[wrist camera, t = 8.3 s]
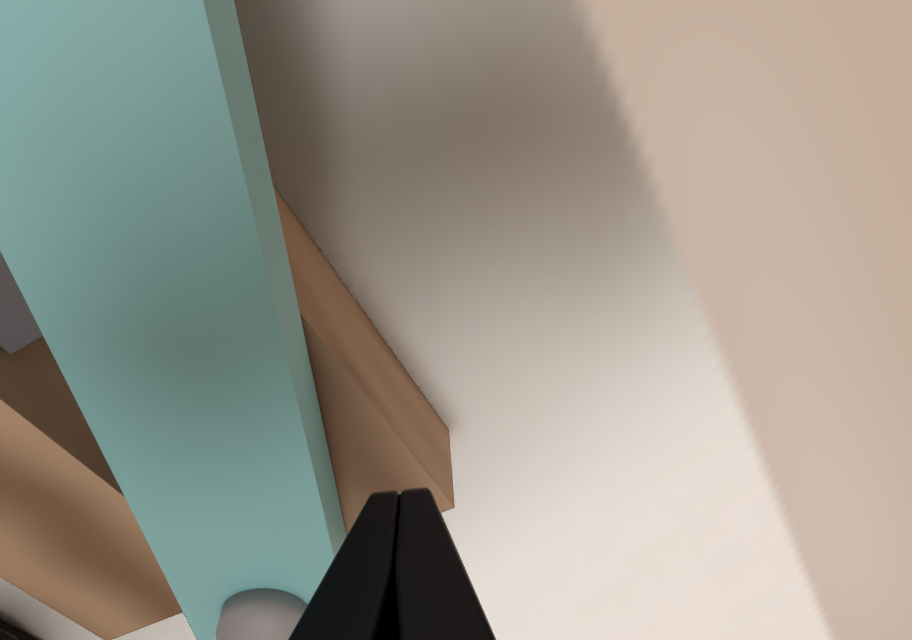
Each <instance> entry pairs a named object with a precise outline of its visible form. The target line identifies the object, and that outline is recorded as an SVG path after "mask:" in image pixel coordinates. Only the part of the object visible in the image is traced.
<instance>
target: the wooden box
mask: <svg viewBox="0 0 912 640" xmlns="http://www.w3.org/2000/svg"><path fill="white" fill-rule="evenodd" d="M273 188H274V193H275V197H276V202H277V207H278V212H279V216H280V221H281V226H282V231H283V235H284V240H285V245H286V250H287V255H288V259H289V264H290V269H291V274H292V278H293V283H294V288H295V293H296V298H297V302H298V307H299V312H300V317H301V321H302V326H303V331H304V336H305V340H306V345H307V350H308V355H309V360H310V364H311V369H312V374H313V379H314V383H315V388H316V393H317V398H318V403H319V407H320V412H321V417H322V422H323V426H324V431H325V436H326V441H327V445H328V450H329V455H330V460H331V465H332V469H333V474H334V479H335V484H336V488H337V493H338V498H339V503H340V507H341V512H342V517H343V522H344V527H345V531H346V536H347V535H348V533H349V531H350V529H351V527H352V526H353V524H354V522H355V520H356V519H357V517H358V515H359V513H360V512H361V510H362V508H363V506H364V504H365V503H366V501H367V499H368V498H369V496H370V495H371V494H372V493H374V492H380V491H390V490H398V491H400V493H402V491H403V490H405V489H410V488H421V487H428V488H429V489H430V490H431V492H432V494H433V496H434V498H435V500H436V503H437V505H438V507H439V510H440V512H441V513H442V512H445V511H447V510H450V509H452V508H454V494H453V480H452V466H451V452H450V438H449V430H448V429H447V427H446V426H445V425H444V423H443V422H442V420H441V419H440V418H439V416H438V415H437V413H436V412H435V411H434V409H433V408H432V406H431V405H430V404H429V402H428V401H427V399H426V398H425V397H424V395H423V394H422V392H421V391H420V390H419V388H418V387H417V386H416V384H415V383H414V381H413V380H412V379H411V377H410V376H409V374H408V373H407V372H406V370H405V369H404V367H403V366H402V365H401V363H400V362H399V360H398V359H397V358H396V356H395V355H394V353H393V352H392V351H391V349H390V348H389V346H388V345H387V344H386V342H385V341H384V339H383V338H382V337H381V335H380V334H379V332H378V331H377V330H376V328H375V327H374V325H373V324H372V323H371V321H370V320H369V319H368V317H367V316H366V314H365V313H364V312H363V310H362V309H361V307H360V306H359V305H358V303H357V302H356V300H355V299H354V298H353V296H352V295H351V293H350V292H349V291H348V289H347V288H346V286H345V285H344V284H343V282H342V281H341V279H340V278H339V277H338V275H337V274H336V272H335V271H334V270H333V268H332V267H331V265H330V264H329V263H328V261H327V260H326V258H325V257H324V256H323V254H322V253H321V251H320V250H319V249H318V247H317V246H316V245H315V243H314V242H313V240H312V239H311V238H310V236H309V235H308V233H307V232H306V231H305V229H304V228H303V226H302V225H301V224H300V222H299V221H298V219H297V218H296V217H295V215H294V214H293V212H292V211H291V210H290V208H289V207H288V205H287V204H286V203H285V201H284V200H283V198H282V197H281V196H280V194H279V193H278V191H277V190H276V189H275V187H274V186H273ZM0 577H1V578H2V579H4V580H6V581H7V582H9V583H11V584H12V585H14V586H16V587H17V588H19V589H21V590H22V591H24V592H26V593H27V594H29V595H31V596H32V597H34V598H36V599H37V600H39V601H41V602H42V603H44V604H46V605H47V606H49V607H51V608H52V609H54V610H56V611H57V612H59V613H61V614H62V615H64V616H65V617H67V618H69V619H70V620H72V621H74V622H75V623H77V624H79V625H80V626H82V627H84V628H85V629H87V630H89V631H90V632H92V633H94V634H95V635H97V636H99V637H100V638H102V639H104V640H112V639H114V638H117V637H120V636H122V635H125V634H127V633H130V632H133V631H135V630H138V629H140V628H143V627H146V626H148V625H151V624H153V623H156V622H159V621H161V620H164V619H166V618H169V617H172V616H174V615H177V614H179V613H182V612H183V611H182V609H181V607H180V605H179V603H178V601H177V599H176V597H175V595H174V593H173V591H172V589H171V587H170V585H169V583H168V581H167V579H166V577H165V575H164V573H163V571H162V569H161V567H160V566H159V564H158V562H157V560H156V558H155V556H154V554H153V552H152V550H151V548H150V546H149V544H148V542H147V540H146V538H145V536H144V534H143V532H142V530H141V528H140V526H139V524H138V522H137V520H136V518H135V516H134V514H133V512H132V510H131V508H130V506H129V504H128V502H127V500H126V498H125V496H124V494H123V492H122V490H121V488H120V486H119V484H118V482H117V480H116V479H115V477H114V475H113V473H112V471H111V469H110V467H109V465H108V463H107V461H106V459H105V457H104V455H103V453H102V451H101V449H100V447H99V445H98V443H97V441H96V439H95V437H94V435H93V433H92V431H91V429H90V427H89V425H88V423H87V421H86V419H85V417H84V415H83V413H82V411H81V409H80V407H79V405H78V403H77V401H76V399H75V397H74V395H73V394H72V392H71V390H70V388H69V386H68V384H67V382H66V380H65V378H64V376H63V374H62V372H61V370H60V368H59V366H58V364H57V362H56V360H55V358H54V356H53V354H52V352H51V350H50V348H49V346H48V344H47V342H46V340H45V338H44V336H42V337H40V338H38V339H36V340H35V341H33V342H31V343H29V344H27V345H26V346H24V347H22V348H20V349H18V350H17V351H15V352H13V353H11V354H9V353H8V352H7V351H6V350H5V349H3V348H2V347H1V346H0Z"/></svg>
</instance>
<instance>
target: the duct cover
mask: <svg viewBox="0 0 912 640" xmlns="http://www.w3.org/2000/svg"><path fill="white" fill-rule="evenodd" d="M0 251H1V253H2V255H3V257H4V259H5V261H6V263H7V265H8V267H9V269H10V271H11V273H12V275H13V277H14V279H15V281H16V283H17V285H18V287H19V289H20V291H21V293H22V295H23V297H24V299H25V301H26V303H27V305H28V307H29V309H30V310H31V312H32V314H33V316H34V318H35V320H36V322H37V324H38V326H39V328H40V330H41V332H42V334H43V336H44V338H45V340H46V342H47V344H48V346H49V348H50V350H51V352H52V354H53V356H54V358H55V360H56V362H57V364H58V366H59V368H60V370H61V372H62V374H63V376H64V378H65V380H66V382H67V384H68V386H69V388H70V390H71V392H72V394H73V395H74V397H75V399H76V401H77V403H78V405H79V407H80V409H81V411H82V413H83V415H84V417H85V419H86V421H87V423H88V425H89V427H90V429H91V431H92V433H93V435H94V437H95V439H96V441H97V443H98V445H99V447H100V449H101V451H102V453H103V455H104V457H105V459H106V461H107V463H108V465H109V467H110V469H111V471H112V473H113V475H114V477H115V479H116V480H117V482H118V484H119V486H120V488H121V490H122V492H123V494H124V496H125V498H126V500H127V502H128V504H129V506H130V508H131V510H132V512H133V514H134V516H135V518H136V520H137V522H138V524H139V526H140V528H141V530H142V532H143V534H144V536H145V538H146V540H147V542H148V544H149V546H150V548H151V550H152V552H153V554H154V556H155V558H156V560H157V562H158V564H159V566H160V567H161V569H162V571H163V573H164V575H165V577H166V579H167V581H168V583H169V585H170V587H171V589H172V591H173V593H174V595H175V597H176V599H177V601H178V603H179V605H180V607H181V609H182V611H183V613H184V615H185V617H186V619H187V621H188V623H189V625H190V627H191V629H192V631H193V633H194V635H195V637H196V639H197V640H288V639H289V637H290V635H291V633H292V632H293V630H294V628H295V626H296V625H297V623H298V621H299V619H300V618H301V616H302V614H303V612H304V610H305V609H306V607H307V605H308V603H309V602H310V600H311V598H312V596H313V595H314V593H315V591H316V589H317V588H318V586H319V584H320V582H321V580H322V579H323V577H324V575H325V573H326V572H327V570H328V568H329V566H330V565H331V563H332V561H333V559H334V557H335V556H336V554H337V552H338V550H339V549H340V547H341V545H342V543H343V542H344V540H345V538H346V531H345V527H344V522H343V517H342V512H341V507H340V503H339V498H338V493H337V488H336V484H335V479H334V474H333V469H332V465H331V460H330V455H329V450H328V445H327V441H326V436H325V431H324V426H323V422H322V417H321V412H320V407H319V403H318V398H317V393H316V388H315V383H314V379H313V374H312V369H311V364H310V360H309V355H308V350H307V345H306V340H305V336H304V331H303V326H302V321H301V317H300V312H299V307H298V302H297V298H296V293H295V288H294V283H293V278H292V274H291V269H290V264H289V259H288V255H287V250H286V245H285V240H284V235H283V231H282V226H281V221H280V216H279V212H278V207H277V202H276V197H275V193H274V188H273V183H272V178H271V173H270V169H269V164H268V159H267V154H266V150H265V145H264V140H263V135H262V130H261V126H260V121H259V116H258V111H257V107H256V102H255V97H254V92H253V88H252V83H251V78H250V73H249V68H248V64H247V59H246V54H245V49H244V45H243V40H242V35H241V30H240V25H239V21H238V16H237V11H236V6H235V2H234V0H0Z"/></svg>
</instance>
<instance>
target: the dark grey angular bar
mask: <svg viewBox="0 0 912 640" xmlns="http://www.w3.org/2000/svg"><path fill="white" fill-rule="evenodd" d="M42 336H43V334H42V332H41V330H40V328H39V326H38V324H37V322H36V320H35V318H34V316H33V314H32V312H31V310H30V309H29V307H28V305H27V303H26V301H25V299H24V297H23V295H22V293H21V291H20V289H19V287H18V285H17V283H16V281H15V279H14V277H13V275H12V273H11V271H10V269H9V267H8V265H7V263H6V261H5V259H4V257H3V255H2V253H1V251H0V346H1V347H2V348H3V349H5V350H6V351H7V352H8V353H9V354H11V353H13V352H15V351H17V350H18V349H20V348H22V347H24V346H26V345H27V344H29V343H31V342H33V341H35V340H36V339H38V338H40V337H42Z"/></svg>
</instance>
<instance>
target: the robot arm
mask: <svg viewBox="0 0 912 640" xmlns="http://www.w3.org/2000/svg"><path fill="white" fill-rule="evenodd" d="M0 640H33V639H31V638H29V637H28V636H26V635H24V634H22V633H20V632H19V631H17V630H15V629H13V628H11V627H10V626H8V625H6V624H4V623H2V622H1V621H0ZM288 640H496V638H495V636H494V634H493V631H492V629H491V627H490V624H489V622H488V620H487V618H486V615H485V613H484V611H483V608H482V606H481V604H480V602H479V599H478V597H477V595H476V592H475V590H474V588H473V585H472V583H471V581H470V579H469V576H468V574H467V572H466V569H465V567H464V565H463V562H462V560H461V558H460V556H459V553H458V551H457V549H456V546H455V544H454V542H453V540H452V537H451V535H450V533H449V530H448V528H447V526H446V523H445V521H444V519H443V517H442V514H441V512H440V510H439V507H438V505H437V503H436V500H435V498H434V496H433V494H432V492H431V490H430V489H429V488H428V487H421V488H410V489H405V490H403V491H402V493H400V491H398V490H390V491H380V492H374V493H372V494H371V495H370V496H369V498H368V499H367V501H366V503H365V504H364V506H363V508H362V510H361V512H360V513H359V515H358V517H357V519H356V520H355V522H354V524H353V526H352V527H351V529H350V531H349V533H348V535H347V536H346V538H345V540H344V542H343V543H342V545H341V547H340V549H339V550H338V552H337V554H336V556H335V557H334V559H333V561H332V563H331V565H330V566H329V568H328V570H327V572H326V573H325V575H324V577H323V579H322V580H321V582H320V584H319V586H318V588H317V589H316V591H315V593H314V595H313V596H312V598H311V600H310V602H309V603H308V605H307V607H306V609H305V610H304V612H303V614H302V616H301V618H300V619H299V621H298V623H297V625H296V626H295V628H294V630H293V632H292V633H291V635H290V637H289V639H288Z"/></svg>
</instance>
